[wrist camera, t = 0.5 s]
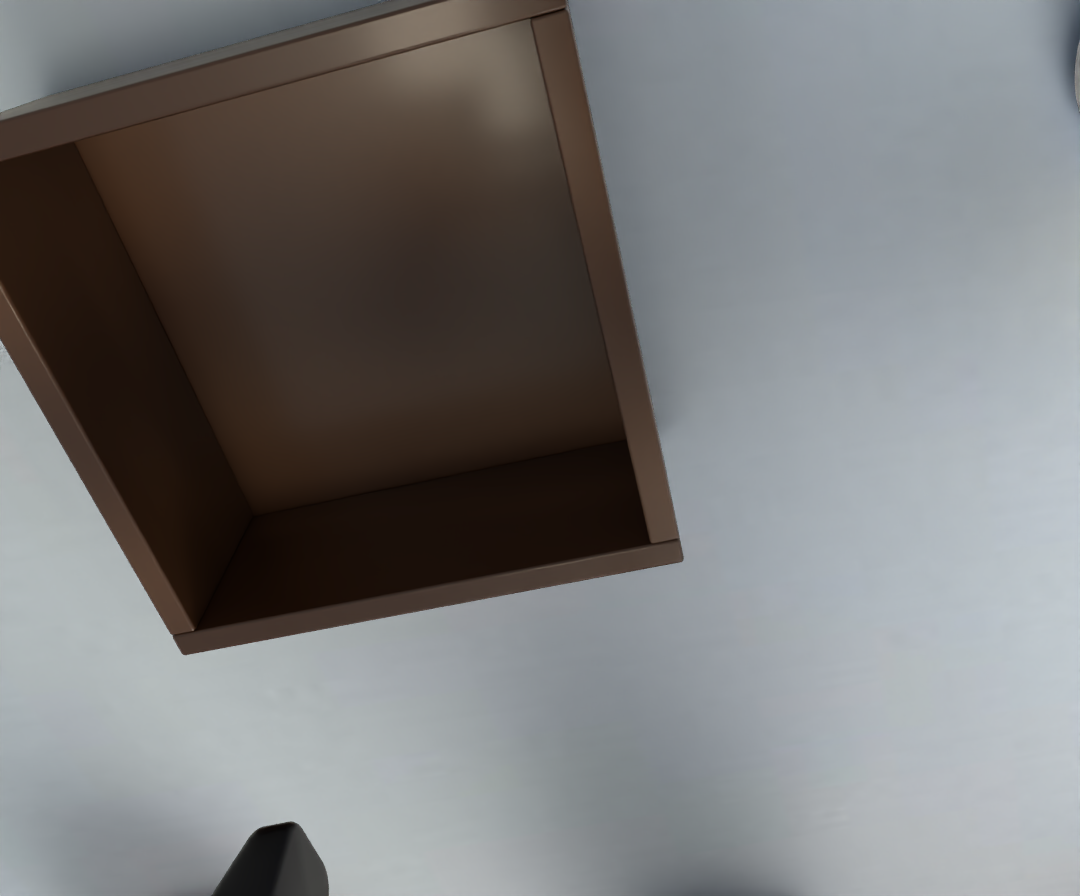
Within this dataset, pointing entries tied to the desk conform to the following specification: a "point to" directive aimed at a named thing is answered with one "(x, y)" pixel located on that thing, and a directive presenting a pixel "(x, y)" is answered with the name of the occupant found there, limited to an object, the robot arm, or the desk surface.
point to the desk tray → (338, 320)
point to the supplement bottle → (1077, 76)
